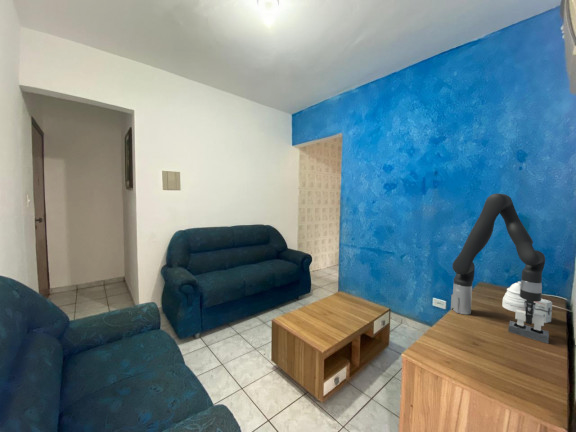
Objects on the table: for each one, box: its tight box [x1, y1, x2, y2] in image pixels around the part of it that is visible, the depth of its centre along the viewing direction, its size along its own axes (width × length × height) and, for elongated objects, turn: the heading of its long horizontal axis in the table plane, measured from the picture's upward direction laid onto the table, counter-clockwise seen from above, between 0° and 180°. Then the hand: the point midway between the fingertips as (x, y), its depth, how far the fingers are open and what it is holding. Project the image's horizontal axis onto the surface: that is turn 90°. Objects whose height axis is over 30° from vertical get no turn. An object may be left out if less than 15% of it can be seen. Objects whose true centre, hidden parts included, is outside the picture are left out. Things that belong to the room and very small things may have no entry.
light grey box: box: [514, 309, 545, 331], centre depth 118 cm, size 10×3×7 cm, turn 42°
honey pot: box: [501, 280, 527, 313], centre depth 147 cm, size 13×13×18 cm
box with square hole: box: [507, 320, 550, 344], centre depth 119 cm, size 14×7×4 cm, turn 42°
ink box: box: [534, 298, 553, 324], centre depth 134 cm, size 8×5×12 cm, turn 17°
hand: (528, 322), depth 118 cm, fingers closed on light grey box, 3 cm apart
